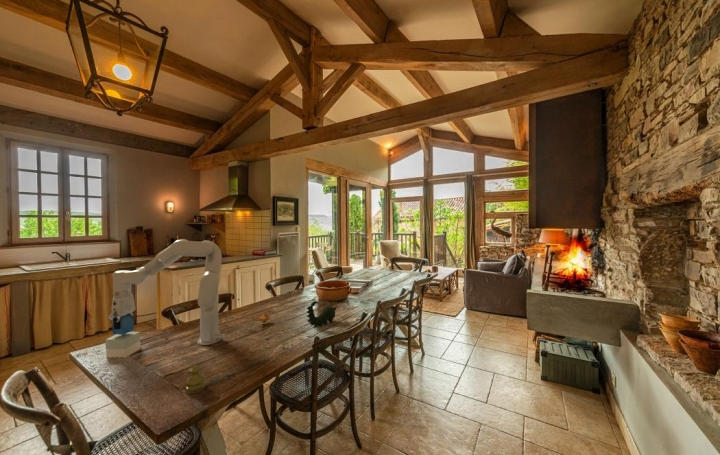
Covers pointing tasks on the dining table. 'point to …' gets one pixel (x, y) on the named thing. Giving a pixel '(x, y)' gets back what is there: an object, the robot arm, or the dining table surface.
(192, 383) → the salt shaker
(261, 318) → the magic lamp
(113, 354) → the bottom block
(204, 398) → the dining table surface
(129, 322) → the perfume bottle
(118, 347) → the top block
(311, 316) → the toy figurine
